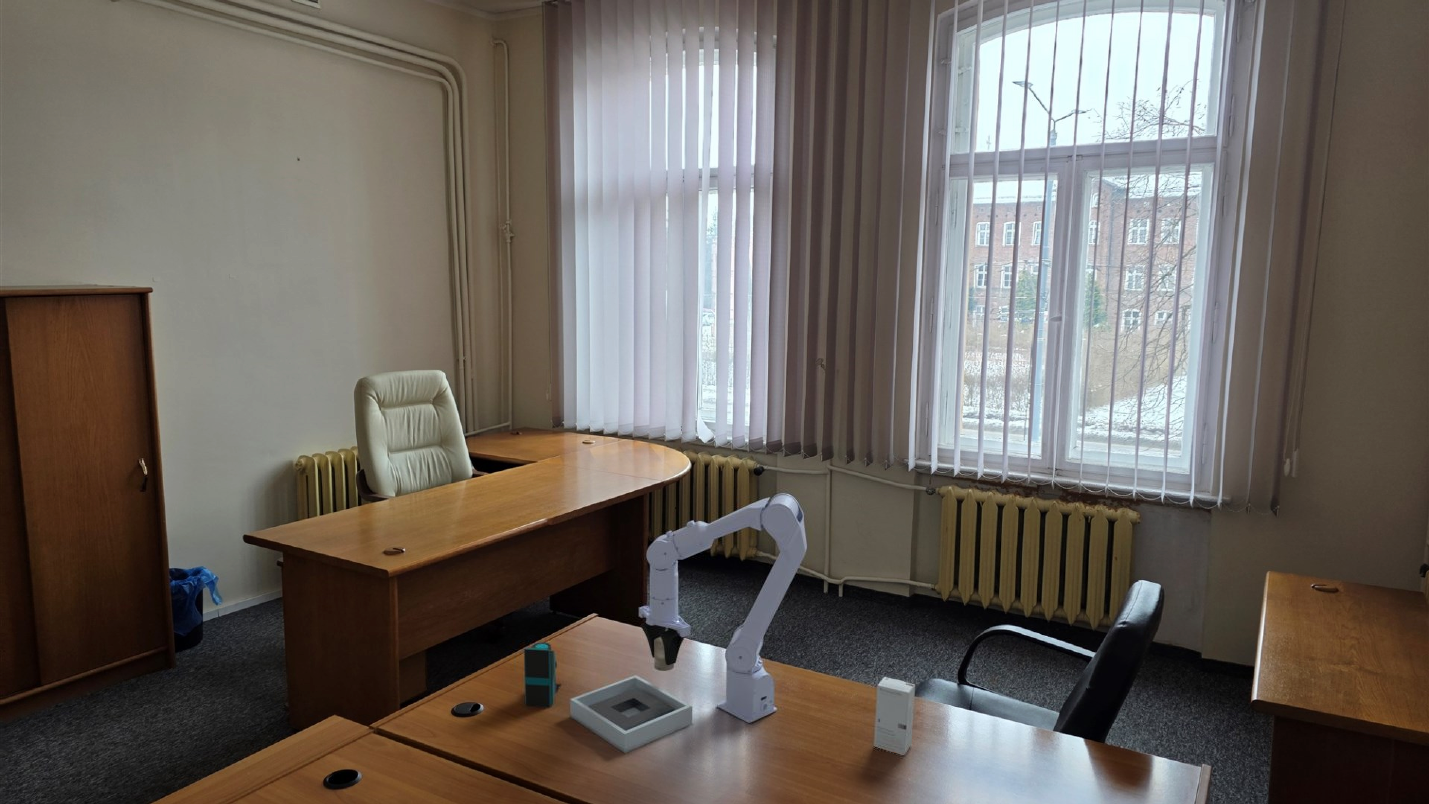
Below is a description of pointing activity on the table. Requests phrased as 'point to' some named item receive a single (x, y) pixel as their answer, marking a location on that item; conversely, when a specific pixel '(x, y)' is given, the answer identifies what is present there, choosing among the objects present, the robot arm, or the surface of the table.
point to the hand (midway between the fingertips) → (663, 659)
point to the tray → (637, 734)
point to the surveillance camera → (540, 675)
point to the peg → (660, 656)
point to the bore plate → (626, 701)
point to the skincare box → (894, 715)
